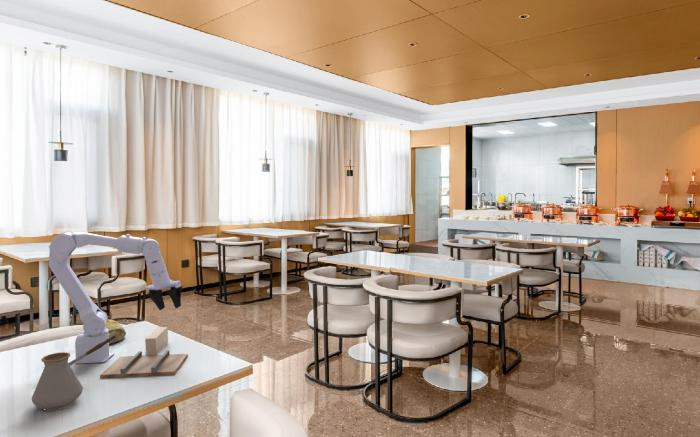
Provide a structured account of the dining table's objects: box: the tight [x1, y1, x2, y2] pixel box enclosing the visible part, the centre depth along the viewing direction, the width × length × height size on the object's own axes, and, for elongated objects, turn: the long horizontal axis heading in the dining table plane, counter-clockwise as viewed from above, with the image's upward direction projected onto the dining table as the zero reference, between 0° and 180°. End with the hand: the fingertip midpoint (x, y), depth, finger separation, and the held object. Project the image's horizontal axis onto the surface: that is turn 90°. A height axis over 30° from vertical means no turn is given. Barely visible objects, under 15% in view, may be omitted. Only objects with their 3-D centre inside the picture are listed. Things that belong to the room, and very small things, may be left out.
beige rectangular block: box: [144, 326, 169, 356], centre depth 160 cm, size 4×13×6 cm, turn 5°
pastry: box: [105, 318, 127, 345], centre depth 169 cm, size 14×12×8 cm
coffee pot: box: [31, 335, 120, 411], centre depth 122 cm, size 21×12×15 cm, turn 137°
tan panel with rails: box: [99, 349, 189, 379], centre depth 143 cm, size 22×15×2 cm
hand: (170, 308), depth 159 cm, fingers open, 7 cm apart
